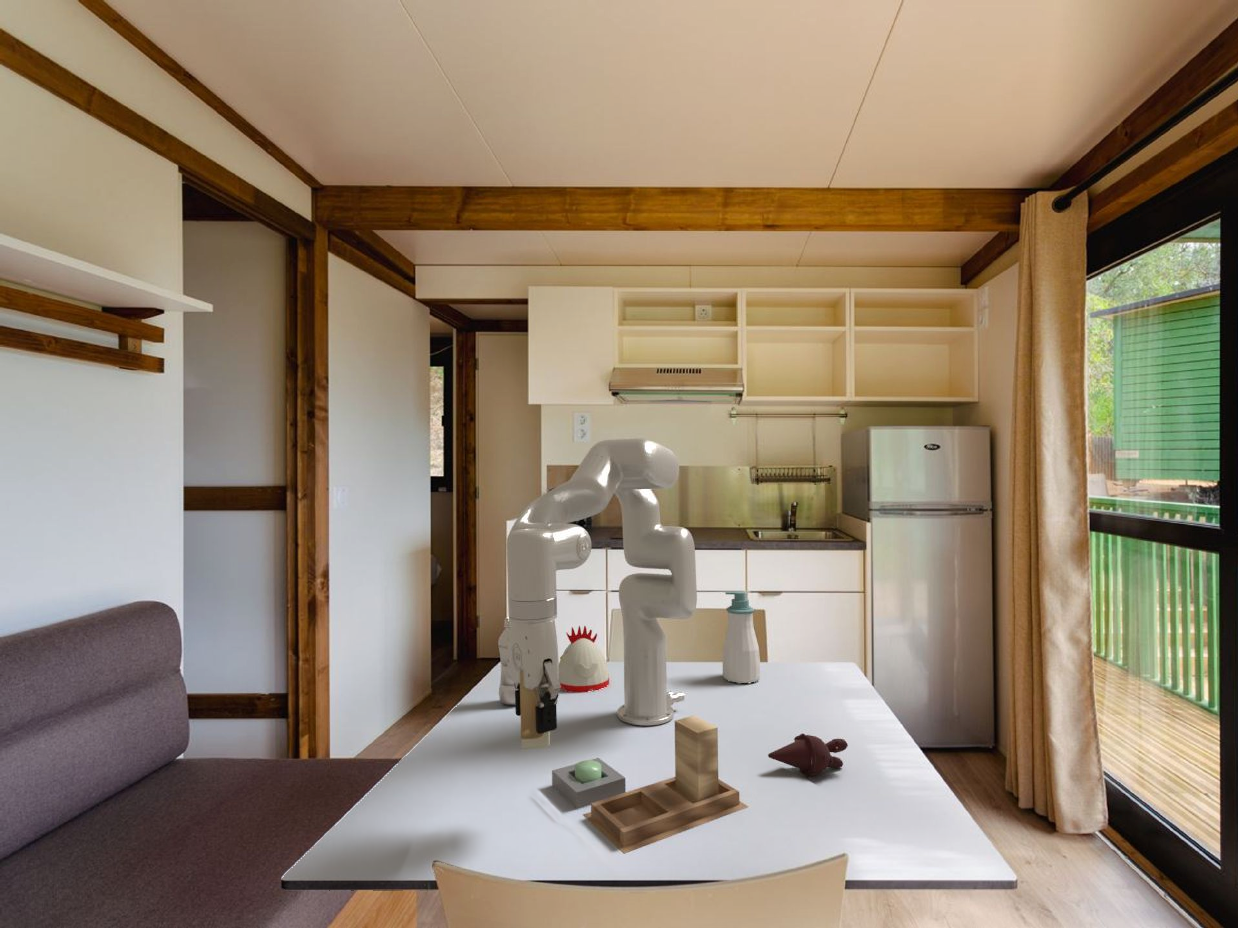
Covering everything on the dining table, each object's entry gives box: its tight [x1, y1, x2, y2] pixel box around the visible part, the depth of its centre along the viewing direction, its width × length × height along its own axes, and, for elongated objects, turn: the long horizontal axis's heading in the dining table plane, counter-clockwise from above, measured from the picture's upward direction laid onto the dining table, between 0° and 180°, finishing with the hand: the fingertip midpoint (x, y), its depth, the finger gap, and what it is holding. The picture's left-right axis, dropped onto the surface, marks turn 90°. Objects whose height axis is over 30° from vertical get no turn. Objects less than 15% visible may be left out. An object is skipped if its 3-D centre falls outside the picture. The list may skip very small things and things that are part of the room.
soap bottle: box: [722, 590, 761, 684], centre depth 165 cm, size 10×10×23 cm
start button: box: [575, 759, 601, 784], centre depth 103 cm, size 4×4×4 cm
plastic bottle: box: [498, 617, 518, 706], centre depth 148 cm, size 6×7×20 cm
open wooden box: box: [582, 776, 749, 854], centre depth 96 cm, size 23×12×3 cm, turn 121°
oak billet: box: [674, 715, 719, 804], centre depth 99 cm, size 4×6×12 cm, turn 32°
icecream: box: [767, 733, 849, 778], centre depth 110 cm, size 7×7×15 cm
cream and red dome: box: [558, 625, 610, 693], centre depth 162 cm, size 14×14×15 cm
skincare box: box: [520, 669, 551, 750], centre depth 96 cm, size 6×4×12 cm
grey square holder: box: [551, 757, 627, 810], centre depth 103 cm, size 9×9×4 cm
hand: (535, 721), depth 96 cm, fingers closed on skincare box, 7 cm apart
